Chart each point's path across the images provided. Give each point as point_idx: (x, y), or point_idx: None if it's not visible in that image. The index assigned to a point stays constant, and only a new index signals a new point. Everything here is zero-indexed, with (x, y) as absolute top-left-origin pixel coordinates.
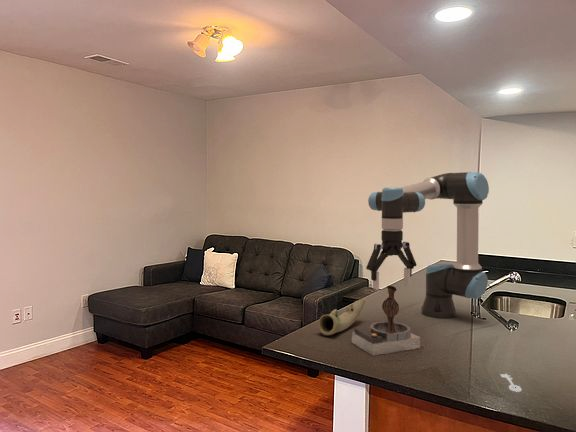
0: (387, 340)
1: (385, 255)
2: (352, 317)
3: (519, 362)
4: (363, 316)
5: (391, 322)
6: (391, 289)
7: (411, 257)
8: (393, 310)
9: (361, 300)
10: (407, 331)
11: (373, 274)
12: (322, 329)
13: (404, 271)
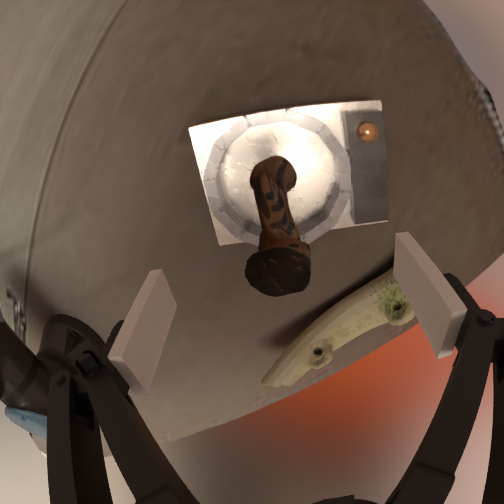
0: (317, 119)
1: (446, 476)
2: (322, 327)
3: (23, 36)
4: (249, 367)
5: (278, 182)
6: (293, 249)
7: (63, 440)
8: (276, 191)
9: (275, 384)
10: (235, 127)
11: (474, 301)
12: None
13: (152, 369)
